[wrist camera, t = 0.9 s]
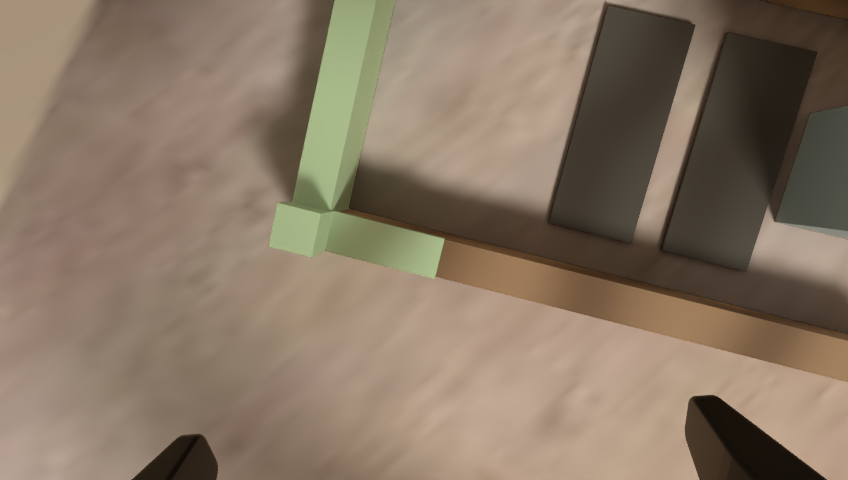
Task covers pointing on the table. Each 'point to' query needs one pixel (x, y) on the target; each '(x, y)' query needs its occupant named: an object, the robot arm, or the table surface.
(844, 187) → the blue-grey block
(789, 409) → the table surface
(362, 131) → the green end wall
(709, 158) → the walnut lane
